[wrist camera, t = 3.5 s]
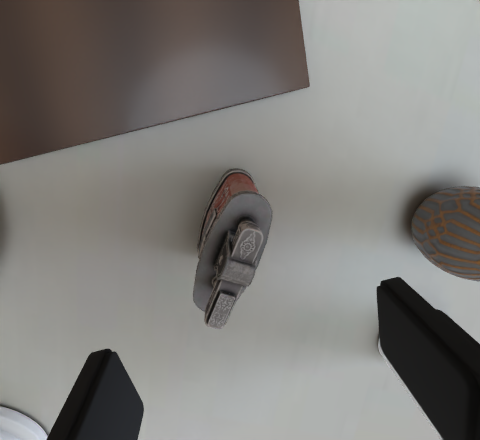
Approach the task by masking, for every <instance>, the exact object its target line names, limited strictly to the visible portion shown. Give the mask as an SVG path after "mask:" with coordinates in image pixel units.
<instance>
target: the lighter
mask: <svg viewBox="0 0 480 440" xmlns="http://www.w3.org/2000/svg"><path fill="white" fill-rule="evenodd" d="M271 221H272V209H271V207H270V204H269V203H268V201H267V200H266V199H265V198H264V197H263V196H262V195H261V194H259V193H258V191H257V189H256V188H255V182H254V180H253V178H252V177H251V175H250V174H249V173H248V172H246V171H244V170H242V169H231V170H229V171H227V172H226V173H225V174H224V175H223V176H222V178H221V180H220V181H219V183H218V185H217V186H216V188H215V190H214V191H213V193H212V196H211V198H210V200H209V202H208V204H207V207H206V209H205V212H204V216H203V219H202V223H201V226H200V233H199V240H198V258H199V262H198V265H197V270H196V277H195V283H194V291H193V301H194V303H195V304H196V306H197V307H198V308H199V309H201V310H202V311H205V324H206V325H207V326H208V327H211V328H215V329H221V328H223V327H224V326H225V325H226V323H227V321H228V318H229V316H230V314H231V312H232V309H233V307H234V305H235V303H236V301H237V300H238V298H239V297H240V296H241V294H242V293H243V291H244V290H245V289H246V287H248V286H249V285H250V284H251V282H252V279H253V277H254V274H255V270H256V268H257V267H258V264H259V261H260V259H261V256H262V253H263V251H264V248H265V245H266V242H267V238H268V234H269V229H270V225H271Z"/></svg>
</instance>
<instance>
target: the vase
mask: <svg viewBox="0 0 480 440" xmlns="http://www.w3.org/2000/svg"><path fill="white" fill-rule="evenodd" d="M412 236H413V239H414V242H415V244H416V246H417V247H418V249H419V250H420V252H421V253H422V254H423V255H424V256H425V257H426V258H427V259H428V260H429V261H430V262H431V263H433V264H434V265H435V266H437V267H438V268H440V269H442V270H443V271H445V272H447V273H450V274H452V275H455V276H457V277H461V278H464V279H468V280H474V281H480V188H479V187H467V186H463V187H453V188H448V189H444V190H441V191H439V192H437V193H435V194H433V195H431V196H430V197H428V198H427V199H426V200H424V201H423V202H422V203H421V205H420V206H419V207H418V209H417V210H416V212H415V214H414V216H413V220H412Z"/></svg>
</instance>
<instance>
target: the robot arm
mask: <svg viewBox="0 0 480 440" xmlns="http://www.w3.org/2000/svg"><path fill="white" fill-rule="evenodd" d="M377 304H378V320H379V336H380V346H381V349H382V351H383V353H384V355H385V356H386V358H387V359H388V361H389V362H390V364H391V365H392V366H393V368H394V369H395V371H396V372H397V374H398V375H399V377H400V378H401V379H402V381H403V382H404V384H405V385H406V387H407V388H408V390H409V391H410V392H411V394H412V395H413V397H414V398H415V400H416V401H417V402H418V404H419V405H420V407H421V408H422V410H423V411H424V413H425V414H426V415H427V417H428V418H429V420H430V421H431V423H432V424H433V426H434V427H435V428H436V430H437V431H438V433H439V434H440V436H441V437H442V439H443V440H480V344H479V343H478V342H477V341H476V340H474V339H473V338H472V337H471V336H470V335H469V334H468V333H467V332H465V331H464V330H463V329H462V328H461V327H460V326H459V325H458V324H456V323H455V322H454V321H453V320H452V319H451V318H450V317H448V316H447V315H446V314H445V313H443V312H442V311H440V310H436V309H434V308H433V307H432V306H431V305H430V304H429V303H428V302H427V301H426V300H424V299H423V298H422V297H421V296H420V295H419V294H418V293H417V292H416V291H415V290H413V289H412V288H411V287H410V286H409V285H408V284H407V283H406V282H405V281H404V280H402V279H401V278H400V277H396V278H391V279H387V280H383V281H381V284H380V286H378V287H377ZM143 412H144V407H143V402H142V400H141V398H140V396H139V394H138V393H137V391H136V389H135V387H134V385H133V383H132V381H131V379H130V377H129V375H128V373H127V372H126V370H125V368H124V366H123V364H122V362H121V360H120V358H119V356H118V354H117V353H116V352H112V351H111V350H110V349H104V350H100V351H96V352H92V353H91V354H90V355H89V356H88V358H87V360H86V362H85V364H84V366H83V368H82V370H81V372H80V374H79V376H78V378H77V380H76V382H75V384H74V386H73V388H72V390H71V392H70V394H69V396H68V398H67V400H66V402H65V404H64V406H63V408H62V410H61V412H60V414H59V416H58V418H57V420H56V422H55V424H54V426H53V428H52V430H51V432H50V434H49V436H47V434H46V433H45V431H44V430H43V429H42V428H41V427H40V426H39V425H38V424H37V423H36V422H35V421H33V420H32V419H30V418H29V417H28V416H26V415H23V414H21V413H19V412H17V411H15V410H12V409H9V408H6V407H2V406H0V440H137V439H138V435H139V431H140V426H141V422H142V418H143Z"/></svg>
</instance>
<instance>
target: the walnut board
mask: <svg viewBox="0 0 480 440" xmlns="http://www.w3.org/2000/svg"><path fill="white" fill-rule="evenodd" d="M309 86H310V85H309V77H308V69H307V62H306V54H305V47H304V39H303V31H302V24H301V16H300V8H299V1H298V0H0V164H4V163H8V162H12V161H16V160H20V159H24V158H28V157H32V156H36V155H40V154H44V153H48V152H52V151H56V150H60V149H64V148H68V147H72V146H76V145H80V144H84V143H88V142H92V141H96V140H100V139H104V138H108V137H112V136H116V135H120V134H124V133H128V132H132V131H136V130H140V129H144V128H148V127H152V126H156V125H160V124H164V123H168V122H172V121H176V120H179V119H183V118H187V117H191V116H195V115H199V114H203V113H207V112H211V111H215V110H219V109H223V108H227V107H231V106H235V105H239V104H243V103H247V102H251V101H255V100H259V99H263V98H267V97H271V96H275V95H279V94H283V93H287V92H291V91H295V90H299V89H303V88H307V87H309Z"/></svg>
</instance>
